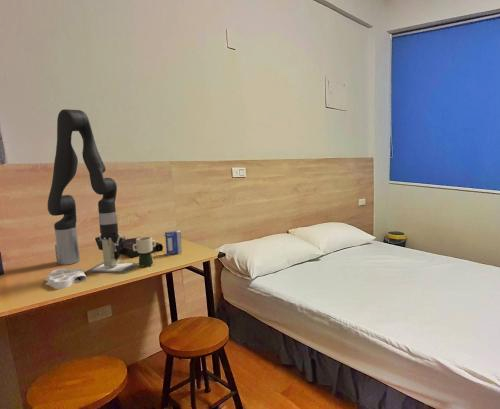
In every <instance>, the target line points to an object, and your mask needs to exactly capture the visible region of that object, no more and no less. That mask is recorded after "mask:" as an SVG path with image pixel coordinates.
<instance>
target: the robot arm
mask: <svg viewBox="0 0 500 409" xmlns="http://www.w3.org/2000/svg"><path fill="white" fill-rule="evenodd" d="M56 123H57V125H56V148H55V157H54V162H53V172H52V173H53V174H52V181H51V187H50V189H49V194H48V199H47V211H48V213H49V215H51V216H52V217H53V216H63V217H62V218H61V219H60V220H58V221H56V222H55V223H54V224H53V225H54V226H53V227H54V235H55V241H56V242H55V243H56V244H54V251H55V257H56V258H55V259H56V264H57V265H63V266H64V265H72V264H76V263H78V262H80V261H81V259H80V250H79V240H78V231H77V207H76V206H77V204H76V200H75V198H74V197H73V196H72V195H70V194H64V195H63V193H64V190H65V189H66V187H67V186H68V185H69V184H70V183H71V181H72V180H73V179H74V177H75V176H76V175H77V174H76V173H77V170H78V164H79V163H78V162H79V159H78V158H79V157H78V156H77V153H76V151H75V150H74V147H73V145H72V136H73V132H79V135H80V137H81V138H82V160H83V162H84V163H83V164H85V168H86V169H87V171H88V172H89V173H88V175H89V180H90V185H91V188H92V190H93V192H94V193H96V194H97V195H102V198H101V199H100V200H98V203H97V207H98V222H99V223H98V224H99V233H100V235H99V236H97V237H95V238H94V239H95V242H96V245H97V248H98V250H100V251H103V246H102V240H107V239H109V240H112V244H113V245H112V246H113V248H114V251H115V252H114V256H115V259H118V258H119V257H120V253H119V250H121V249H123V246H124V240H125V239H126V237H125V236H120V235H119V224H118V217H117V216H118V215H117V213H116V212H117V211H116V199H117V191H118V186H117V182H116V181H115V180H114V179H113V178H112V177H104V174H103V173H105V172H106V170H107V169H106V166H105V164H104V161H103V160H102V157H101V155H100V152H99V149H98V147H97V144H96V140H95V136H94V133H93V129H92V125H91V122H90V119H89V117H88V115H87V113H85V111H83V110H81V109H70V108H69V109H68V108H67V109H66V108H65V109H61V110H60V111H59V112H58V115H57V122H56ZM117 240H118V241H119V244H118V241H117ZM114 243H116V244H114ZM120 258H121V257H120Z"/></svg>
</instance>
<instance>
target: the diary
mask: <svg viewBox="0 0 500 409" xmlns="http://www.w3.org/2000/svg"><path fill="white" fill-rule="evenodd" d="M140 237H141V236H138V237H134V238H133V237H132V238H125V240H124V246H123V249H121V250H119V254H121V255H122V256H126V257H128V258H130V259H135V258H139V255H140V253H138V252H137V251H133V244H136V239H137V238H140ZM118 244H119V241H118ZM152 245H154V242H152ZM135 249H137V247H136V246H135ZM163 250H164V246H163V244H162V243H159V242H156V246H155V247H153V250H152V251H151V252H150V253H151V254H153V253H157V252H159V251H161V252H162V251H163Z"/></svg>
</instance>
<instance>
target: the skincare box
mask: <svg viewBox="0 0 500 409" xmlns="http://www.w3.org/2000/svg"><path fill="white" fill-rule="evenodd" d="M117 241H118V240H117ZM114 244H116V243H114ZM112 245H113V244H112V240H109V239H107V240H102V246H103V250H102V254H103V256H102V258H103V262H104V266H111V267H112V266H114V265H116V264H118V263H120V262H121V260H120V259H121V257H119V258H118V259H115V256H114V252H115V251H114V248H113V246H112Z"/></svg>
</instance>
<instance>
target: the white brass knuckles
mask: <svg viewBox="0 0 500 409" xmlns="http://www.w3.org/2000/svg"><path fill="white" fill-rule="evenodd" d="M78 278H79V279H80V280H79V279H78ZM87 278H88V277H87V275H86V274H85V272H84V270H83V269H82V268H79V267H77V268H68V269H67V268H58V269H54V270H51V271H50V273H49V274H48V275H47V277H46V278H45V279H44V281H45V282H46V283H45V285H46V286H48V287H50V288H51V287H52V288H53V289H54V290H63V289H66V288H69V287H70V286H72V285H73V284H76V283H81V282H84V281H86V280H87Z"/></svg>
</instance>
